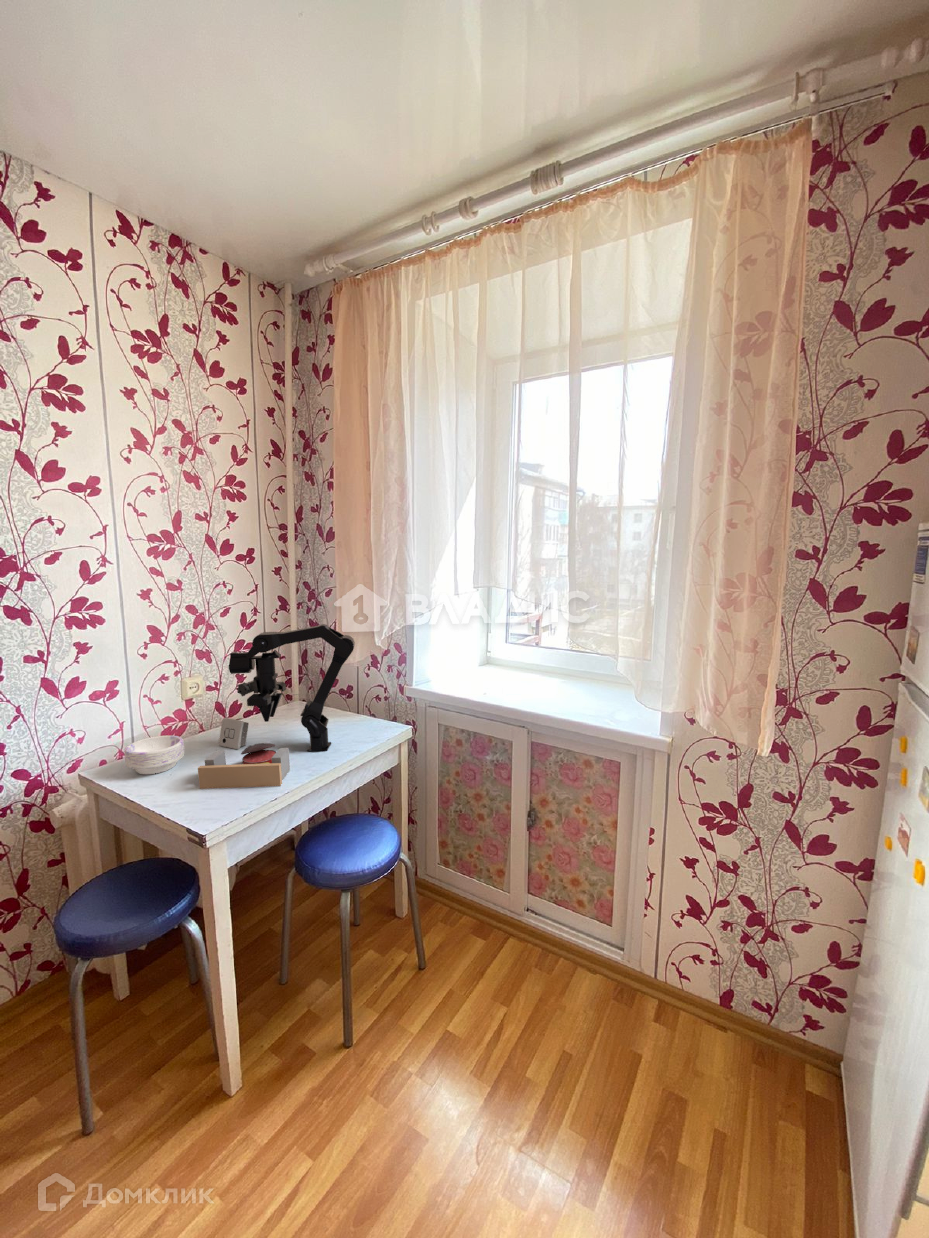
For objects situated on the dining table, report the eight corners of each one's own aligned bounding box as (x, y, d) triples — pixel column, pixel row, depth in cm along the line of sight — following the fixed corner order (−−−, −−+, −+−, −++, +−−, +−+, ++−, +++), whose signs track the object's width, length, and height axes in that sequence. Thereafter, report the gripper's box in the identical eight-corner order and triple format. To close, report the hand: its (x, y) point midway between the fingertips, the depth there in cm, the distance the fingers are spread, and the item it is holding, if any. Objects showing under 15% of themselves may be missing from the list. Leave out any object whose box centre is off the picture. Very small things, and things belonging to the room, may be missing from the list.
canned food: (245, 785, 148) (226, 758, 146) (262, 767, 157) (245, 742, 156) (274, 771, 145) (255, 743, 144) (290, 753, 155) (273, 727, 153)
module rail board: (216, 772, 146) (214, 750, 145) (291, 770, 146) (290, 747, 145) (199, 788, 136) (197, 764, 135) (280, 785, 136) (278, 761, 136)
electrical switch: (218, 746, 167) (218, 718, 166) (231, 742, 171) (231, 715, 171) (237, 750, 163) (237, 722, 162) (250, 746, 167) (250, 719, 167)
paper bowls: (197, 761, 154) (194, 737, 153) (151, 782, 140) (149, 755, 139) (161, 755, 160) (159, 731, 158) (114, 775, 145) (111, 749, 144)
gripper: (251, 666, 166) (254, 710, 168) (227, 680, 148) (231, 730, 150) (285, 665, 167) (288, 709, 169) (265, 678, 148) (268, 728, 150)
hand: (269, 719), depth 159 cm, fingers open, 4 cm apart
